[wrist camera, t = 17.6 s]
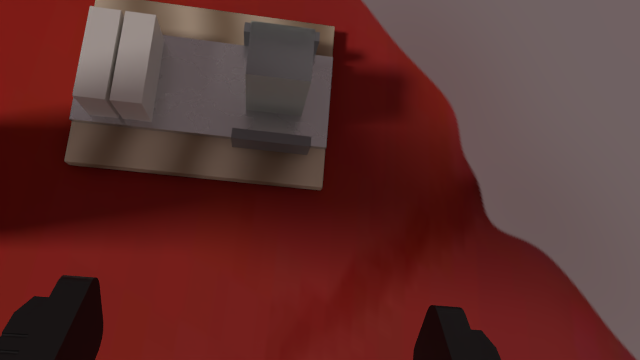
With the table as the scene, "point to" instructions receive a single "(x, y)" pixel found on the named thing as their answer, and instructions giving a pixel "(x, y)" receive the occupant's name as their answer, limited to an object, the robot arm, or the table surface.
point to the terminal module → (279, 68)
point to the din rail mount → (190, 98)
